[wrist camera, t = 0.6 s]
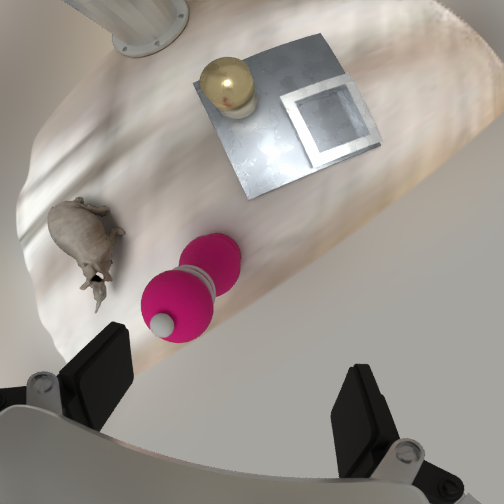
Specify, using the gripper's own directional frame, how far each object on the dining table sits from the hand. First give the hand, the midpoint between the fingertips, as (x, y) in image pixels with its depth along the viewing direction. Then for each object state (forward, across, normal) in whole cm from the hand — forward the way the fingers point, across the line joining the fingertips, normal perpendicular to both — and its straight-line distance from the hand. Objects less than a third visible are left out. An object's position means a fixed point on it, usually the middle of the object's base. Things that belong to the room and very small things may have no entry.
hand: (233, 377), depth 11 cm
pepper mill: (+27, +6, +3) cm, 28 cm away
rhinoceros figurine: (+27, +24, +4) cm, 36 cm away
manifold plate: (+27, 0, -17) cm, 32 cm away
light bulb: (+25, +6, -17) cm, 31 cm away
